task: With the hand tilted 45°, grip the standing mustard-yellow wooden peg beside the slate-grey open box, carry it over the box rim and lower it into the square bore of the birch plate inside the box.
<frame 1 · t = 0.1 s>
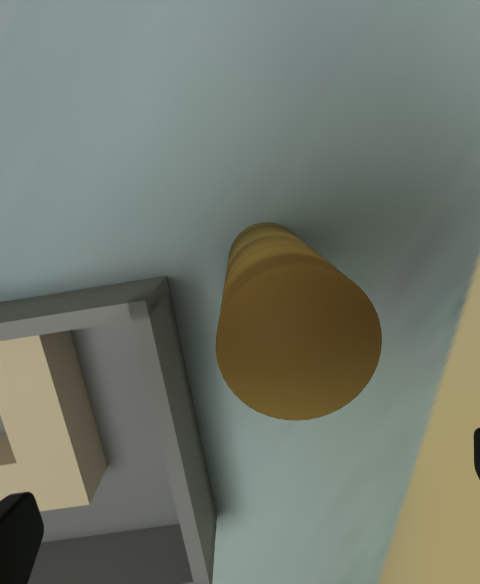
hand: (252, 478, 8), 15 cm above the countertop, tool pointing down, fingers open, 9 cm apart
peg: (265, 260, 22), on the countertop
bore box: (62, 425, 24), on the countertop
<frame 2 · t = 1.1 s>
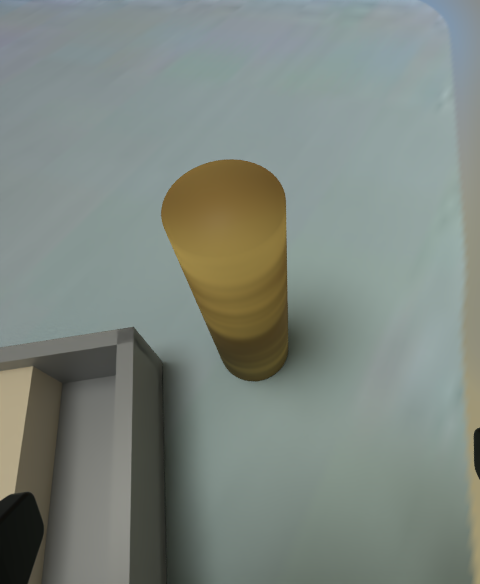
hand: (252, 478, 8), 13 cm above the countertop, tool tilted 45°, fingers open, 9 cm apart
peg: (253, 347, 24), on the countertop
bore box: (9, 535, 20), on the countertop
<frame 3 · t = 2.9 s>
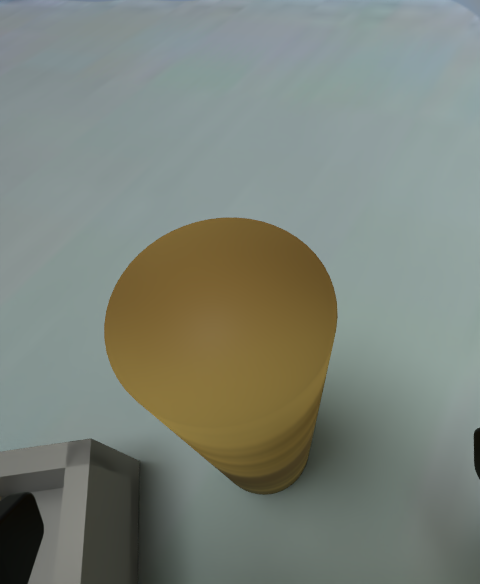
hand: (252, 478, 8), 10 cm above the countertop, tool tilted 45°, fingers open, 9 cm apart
peg: (262, 443, 18), on the countertop
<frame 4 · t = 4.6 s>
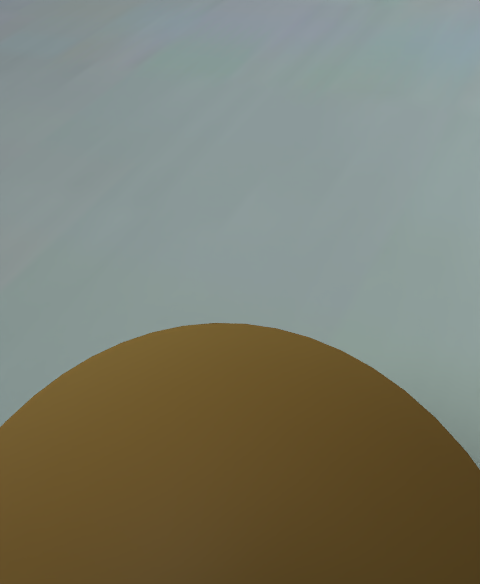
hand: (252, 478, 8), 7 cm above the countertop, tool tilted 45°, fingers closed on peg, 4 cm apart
peg: (274, 546, 13), on the countertop, touching gripper
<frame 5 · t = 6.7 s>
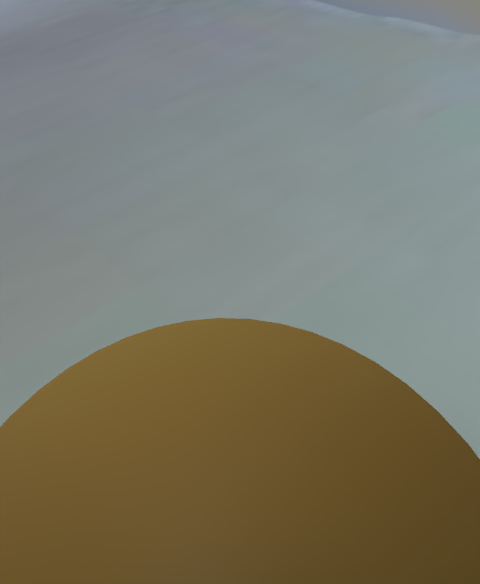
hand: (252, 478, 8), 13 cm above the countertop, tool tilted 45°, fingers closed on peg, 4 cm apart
peg: (275, 544, 13), point 7 cm above the countertop, touching gripper
when the fingers open (9 cm above the countertop, at t = 9.2 s): peg stays where it is, resting on bore box.
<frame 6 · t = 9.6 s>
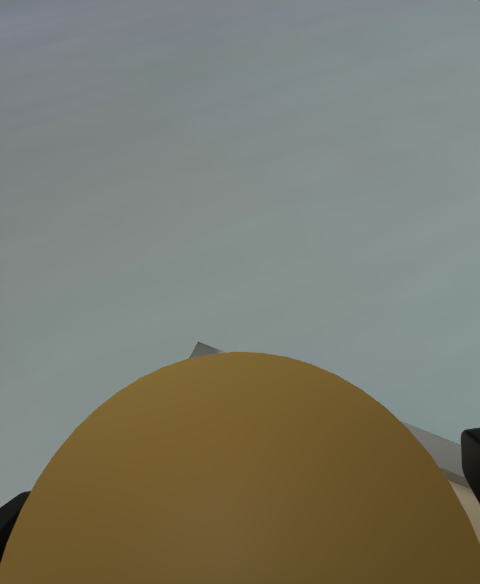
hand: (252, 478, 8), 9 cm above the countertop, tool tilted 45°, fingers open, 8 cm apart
peg: (275, 544, 14), point 1 cm above the countertop, touching bore box
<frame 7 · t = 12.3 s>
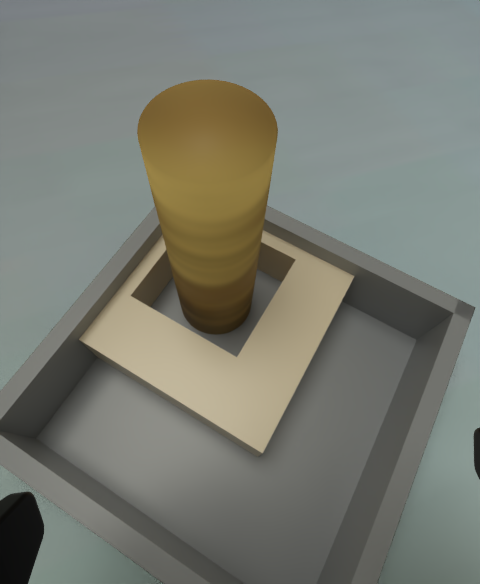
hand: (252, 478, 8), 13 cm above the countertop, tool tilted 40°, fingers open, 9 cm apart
peg: (216, 301, 23), point 1 cm above the countertop, touching bore box
bore box: (238, 389, 22), on the countertop
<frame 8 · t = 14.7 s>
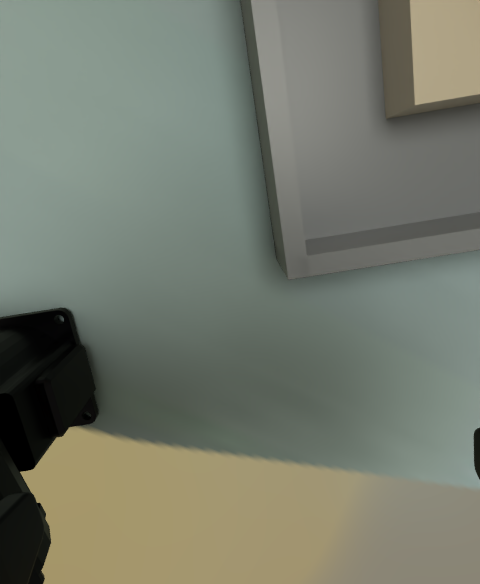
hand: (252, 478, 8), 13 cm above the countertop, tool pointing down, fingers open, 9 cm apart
bore box: (430, 53, 18), on the countertop
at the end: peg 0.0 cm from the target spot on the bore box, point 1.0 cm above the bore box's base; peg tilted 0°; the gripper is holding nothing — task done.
